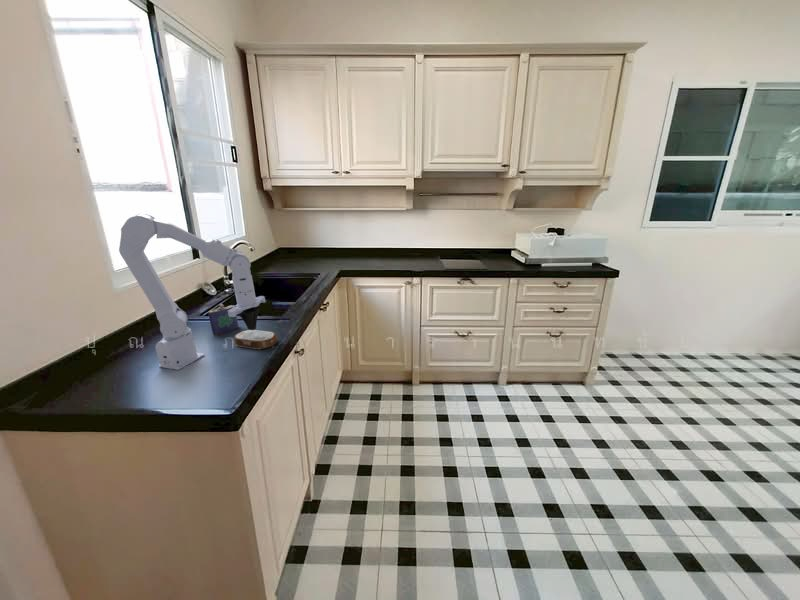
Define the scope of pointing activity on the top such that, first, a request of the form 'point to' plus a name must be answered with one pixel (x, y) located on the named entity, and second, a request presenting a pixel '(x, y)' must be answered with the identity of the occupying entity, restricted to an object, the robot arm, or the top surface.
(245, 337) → the tin
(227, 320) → the flask
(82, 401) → the top surface
